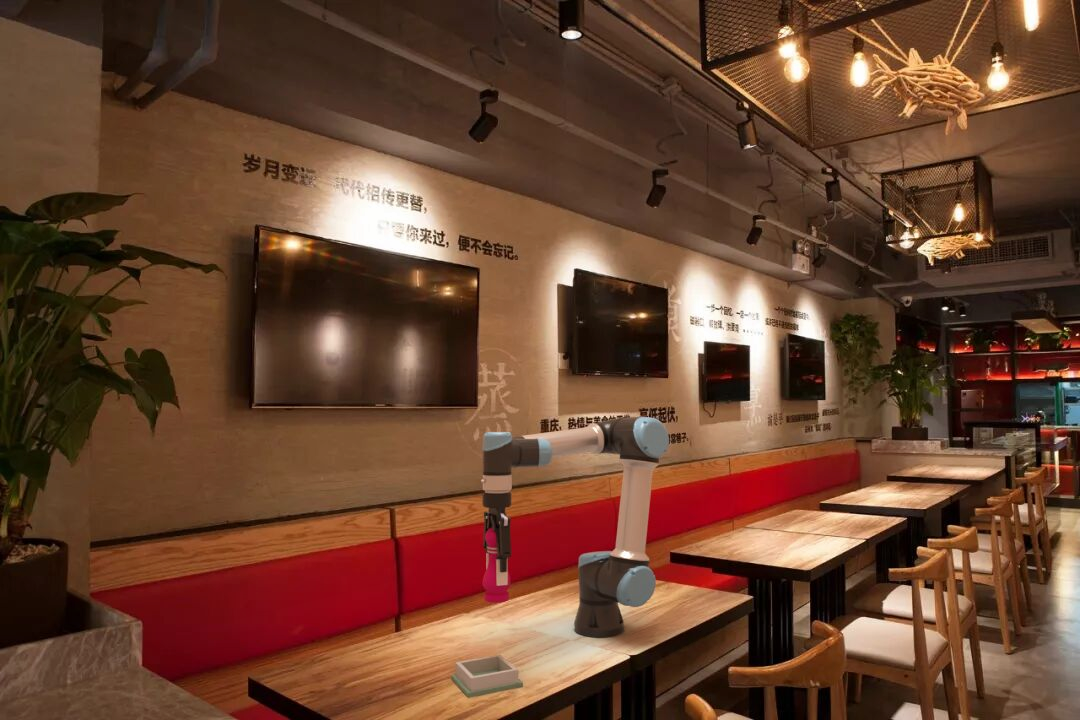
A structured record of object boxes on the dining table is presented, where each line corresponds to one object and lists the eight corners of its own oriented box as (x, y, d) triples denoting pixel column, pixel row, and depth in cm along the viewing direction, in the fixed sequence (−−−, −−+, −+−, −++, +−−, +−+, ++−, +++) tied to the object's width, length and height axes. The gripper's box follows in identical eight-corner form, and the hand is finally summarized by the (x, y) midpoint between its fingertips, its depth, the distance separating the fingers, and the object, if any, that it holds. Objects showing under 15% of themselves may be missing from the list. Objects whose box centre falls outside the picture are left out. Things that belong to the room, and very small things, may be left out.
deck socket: (503, 669, 181) (503, 653, 181) (523, 686, 169) (522, 669, 169) (451, 678, 175) (451, 662, 175) (467, 697, 163) (467, 679, 163)
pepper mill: (506, 604, 175) (506, 523, 177) (478, 602, 176) (479, 522, 178) (513, 597, 182) (513, 519, 184) (487, 595, 184) (487, 518, 185)
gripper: (471, 488, 189) (470, 575, 187) (496, 495, 171) (496, 591, 169) (497, 487, 192) (497, 572, 190) (524, 494, 174) (524, 588, 172)
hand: (496, 581), depth 180 cm, fingers closed on pepper mill, 7 cm apart
